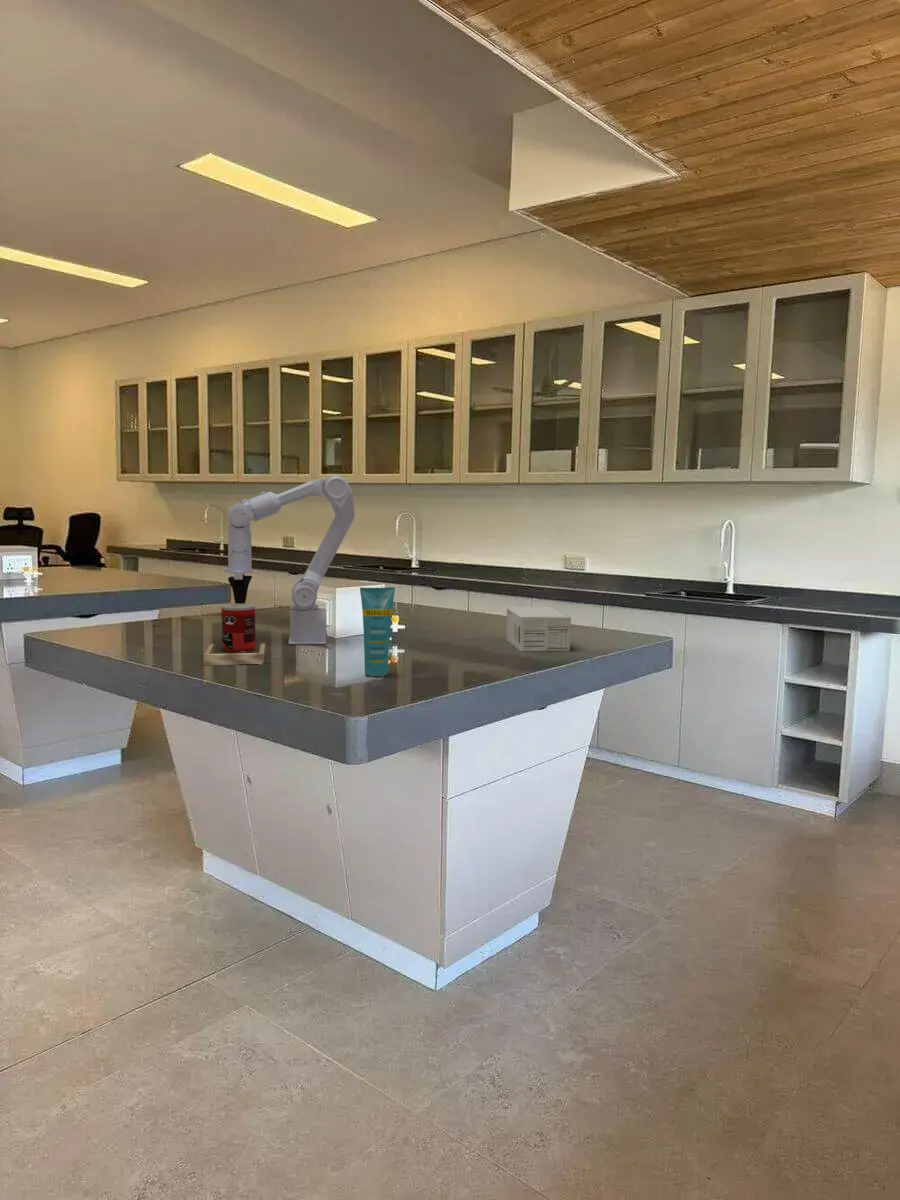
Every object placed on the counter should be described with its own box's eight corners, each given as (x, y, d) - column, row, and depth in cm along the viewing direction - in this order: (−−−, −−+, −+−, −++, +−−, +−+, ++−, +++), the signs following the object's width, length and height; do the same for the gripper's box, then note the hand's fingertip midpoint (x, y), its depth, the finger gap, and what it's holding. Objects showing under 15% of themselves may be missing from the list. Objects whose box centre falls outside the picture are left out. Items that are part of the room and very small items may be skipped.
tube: (361, 677, 181) (362, 588, 179) (357, 673, 186) (358, 585, 183) (395, 676, 183) (396, 588, 181) (391, 671, 188) (392, 585, 185)
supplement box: (504, 640, 230) (506, 606, 229) (552, 640, 232) (553, 606, 231) (519, 652, 213) (521, 616, 212) (570, 652, 216) (571, 615, 214)
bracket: (265, 653, 205) (265, 643, 205) (263, 664, 193) (263, 654, 192) (209, 654, 203) (209, 644, 203) (204, 665, 190) (203, 654, 190)
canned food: (220, 647, 211) (219, 603, 210) (253, 646, 214) (252, 603, 213) (223, 653, 204) (223, 608, 203) (257, 651, 207) (257, 607, 205)
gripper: (225, 549, 221) (226, 600, 223) (221, 553, 207) (222, 608, 209) (253, 549, 222) (254, 600, 224) (250, 553, 208) (251, 608, 210)
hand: (240, 604), depth 217 cm, fingers closed
